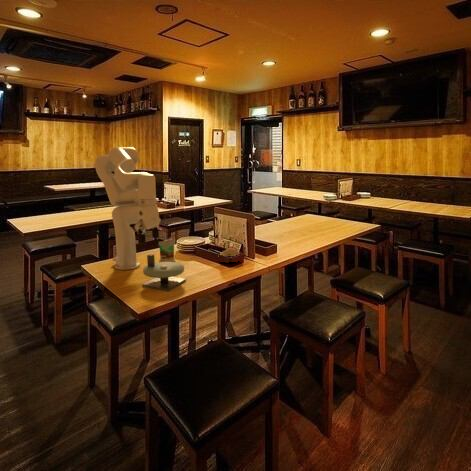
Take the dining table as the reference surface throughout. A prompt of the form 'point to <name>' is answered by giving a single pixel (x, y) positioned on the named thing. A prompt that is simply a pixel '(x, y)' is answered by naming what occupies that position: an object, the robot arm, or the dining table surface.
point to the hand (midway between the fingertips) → (149, 240)
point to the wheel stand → (164, 283)
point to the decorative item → (230, 252)
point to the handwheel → (162, 268)
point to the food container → (167, 248)
